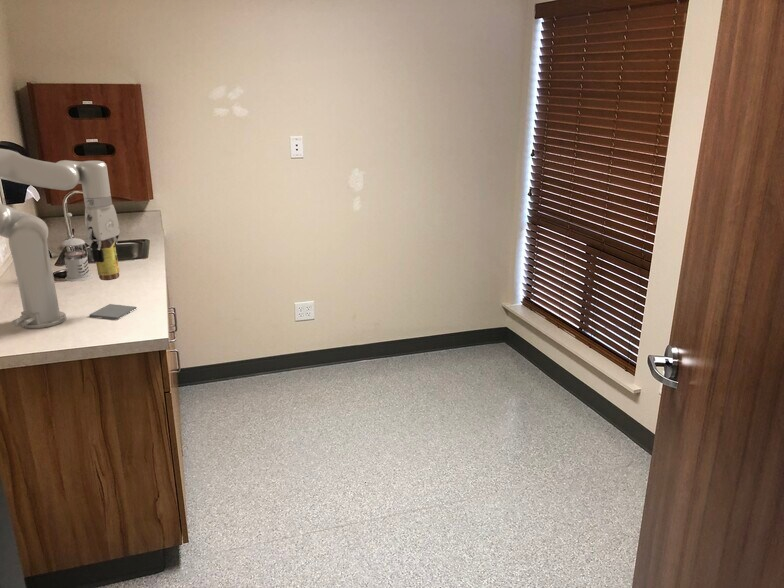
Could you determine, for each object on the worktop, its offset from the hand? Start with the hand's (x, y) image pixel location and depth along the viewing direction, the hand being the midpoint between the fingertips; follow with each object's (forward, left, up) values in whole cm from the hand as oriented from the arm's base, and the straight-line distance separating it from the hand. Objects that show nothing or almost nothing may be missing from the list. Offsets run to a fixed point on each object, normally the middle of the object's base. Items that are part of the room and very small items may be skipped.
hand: (106, 258), depth 188 cm
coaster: (0, 0, -18) cm, 18 cm away
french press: (+30, +36, -19) cm, 50 cm away
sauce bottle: (0, 0, -7) cm, 7 cm away
